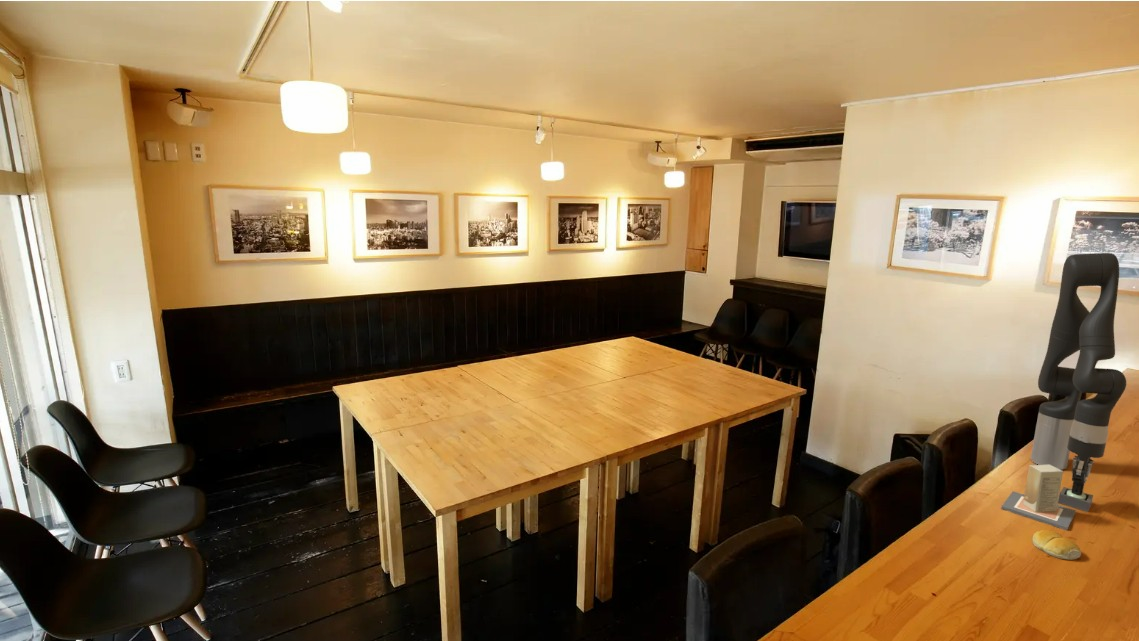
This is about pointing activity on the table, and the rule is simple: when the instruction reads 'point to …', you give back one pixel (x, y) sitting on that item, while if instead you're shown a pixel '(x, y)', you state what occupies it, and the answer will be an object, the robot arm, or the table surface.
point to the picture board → (1053, 518)
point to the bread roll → (1056, 545)
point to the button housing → (1075, 500)
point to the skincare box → (1042, 488)
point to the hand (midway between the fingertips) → (1076, 493)
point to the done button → (1076, 495)
